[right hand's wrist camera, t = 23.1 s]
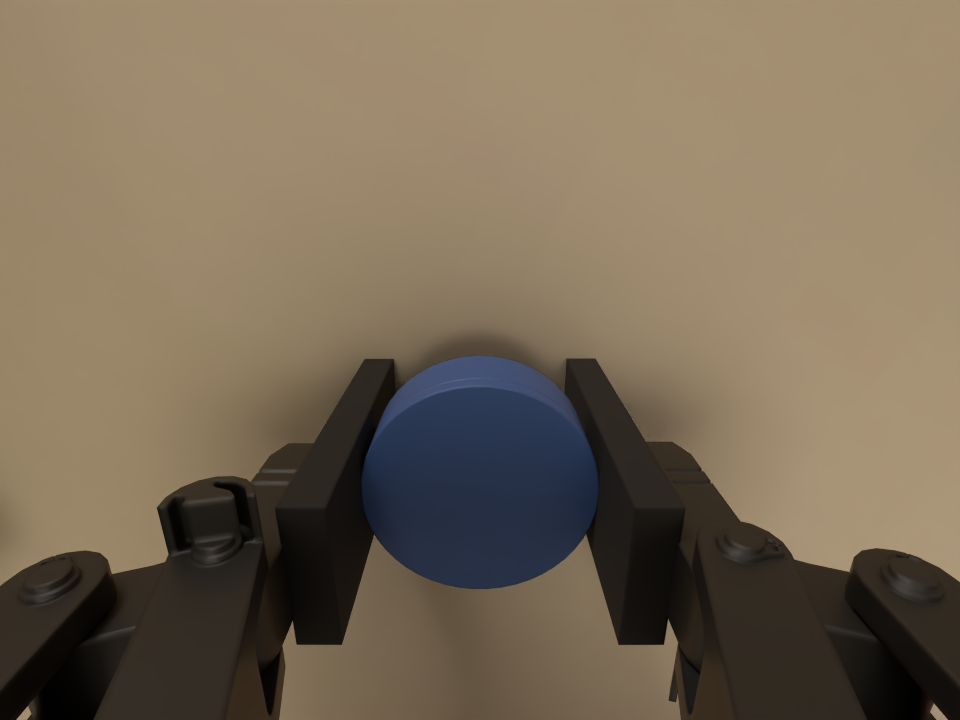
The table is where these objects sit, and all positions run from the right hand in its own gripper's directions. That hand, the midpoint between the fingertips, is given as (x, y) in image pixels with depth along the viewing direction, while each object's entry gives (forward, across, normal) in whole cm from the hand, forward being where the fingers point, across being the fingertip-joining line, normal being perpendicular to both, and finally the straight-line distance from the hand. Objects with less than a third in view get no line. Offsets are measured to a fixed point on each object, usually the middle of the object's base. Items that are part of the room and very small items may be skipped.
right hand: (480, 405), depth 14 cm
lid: (-4, 0, 0) cm, 4 cm away
